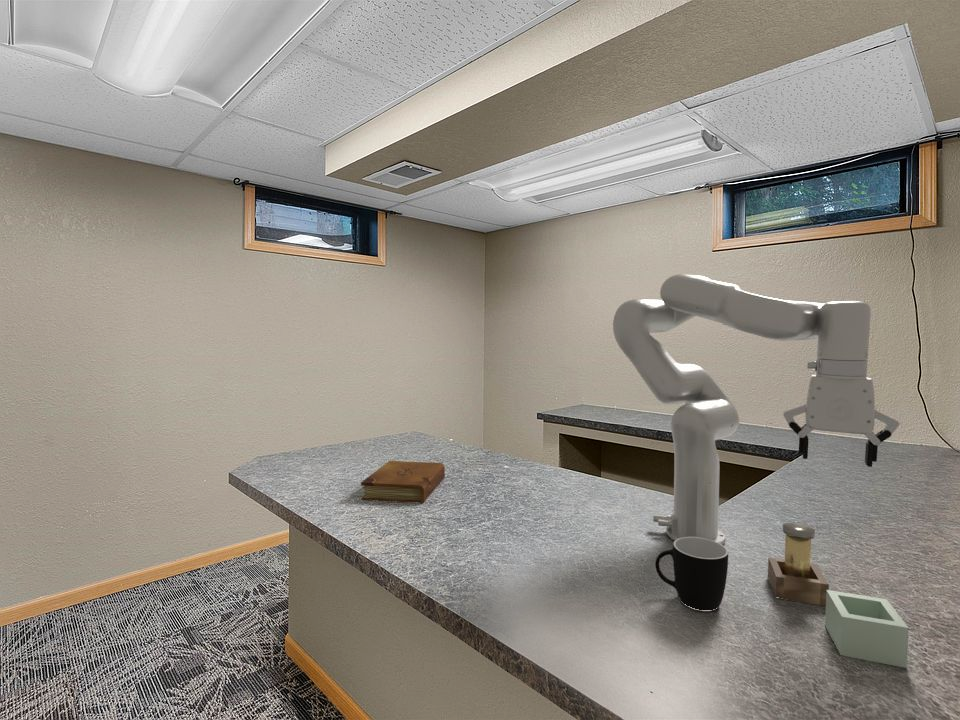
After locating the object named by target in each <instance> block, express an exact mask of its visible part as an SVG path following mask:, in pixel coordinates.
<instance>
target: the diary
mask: <svg viewBox="0 0 960 720" xmlns="http://www.w3.org/2000/svg"><path fill="white" fill-rule="evenodd" d="M445 468H446V466H445V464H444V463H443V462H425V461H422V462H421V461H406V460H404V461H401V460H400V461H399V460H389V461H387V462H386V463H385V464H383V465H382V466H381V467H380V468H378V469H377V470H376V471H374V472H373V473H371V474H370V475H369V476H367V477H366V478H364V480H362V481H361V482H360V486H362V487H363V496H362V497H361V499H360V500H361V501H372V500H378V501H377V502H389V501H397V502H396V503H405V502H419V503H418V504H422V503H423V504H424V503H425V502H426V501H427V499H428V498H429V497H430V495H432V493H433V492H434V491H435V490H436V489H437V487H438V486H439V485H440V484H441V482H442V481H443V480H444V479H445V478H446V477H445V476H446V475H445V474H446V469H445ZM398 501H399V502H398Z"/></svg>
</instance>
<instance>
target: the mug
mask: <svg viewBox="0 0 960 720" xmlns="http://www.w3.org/2000/svg"><path fill="white" fill-rule="evenodd" d="M665 556H670V557H672V560H673V561H672V562H673V573H674V574H673V576H674V580H671V579H670V578H668V577H666V575H664V573H663V572H662V570H661V568H660V562H661V560H662V558H663V557H665ZM654 564H655V566H654V567H655V571H656V573H657V575H658V576H659V578H660V579H661V580H662V581H663V582H665V584H667V585H668V586H671V587H672V588H674V589H675V590H676V593H677V596H678V599H679V600H680V602H681V601H682V602H683V603H684V604H686V605H687V606H690V607H692V608H695V609H699V610H713V609H716V608H717V609H718V608H719V607H720V606H721V604H722V601H723V598H724V594H725V589H726V584H727V577H728V566H729V550H728V549H727V547H726V546H724V544H723V545H721V544H720V543H718V542H715V541H713V540H709V539H705V538H700V537H682V538H679V539H677V540H675V541H673V544H672V548H671V549H665V550H663V551H661V552H660V553H659V554H658V555H657V557H656V559H655V563H654ZM682 602H681V603H682ZM683 603H682V604H683ZM684 604H683V605H684ZM687 606H686V607H687ZM717 609H716V610H717Z"/></svg>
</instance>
